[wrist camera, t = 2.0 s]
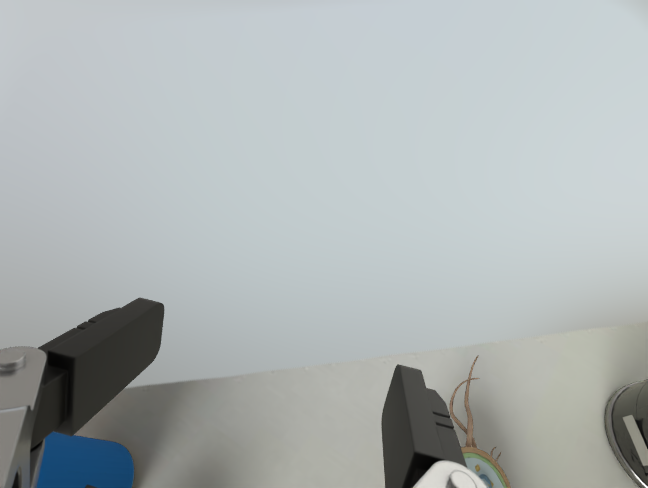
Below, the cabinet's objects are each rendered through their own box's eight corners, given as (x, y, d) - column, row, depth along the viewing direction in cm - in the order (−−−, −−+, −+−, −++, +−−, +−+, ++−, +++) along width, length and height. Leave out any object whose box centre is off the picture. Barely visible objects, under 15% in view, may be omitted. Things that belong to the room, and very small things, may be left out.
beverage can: (46, 518, 29) (-121, 537, 19) (94, 433, 32) (-25, 411, 22) (109, 547, 27) (-35, 584, 17) (153, 454, 31) (53, 441, 21)
